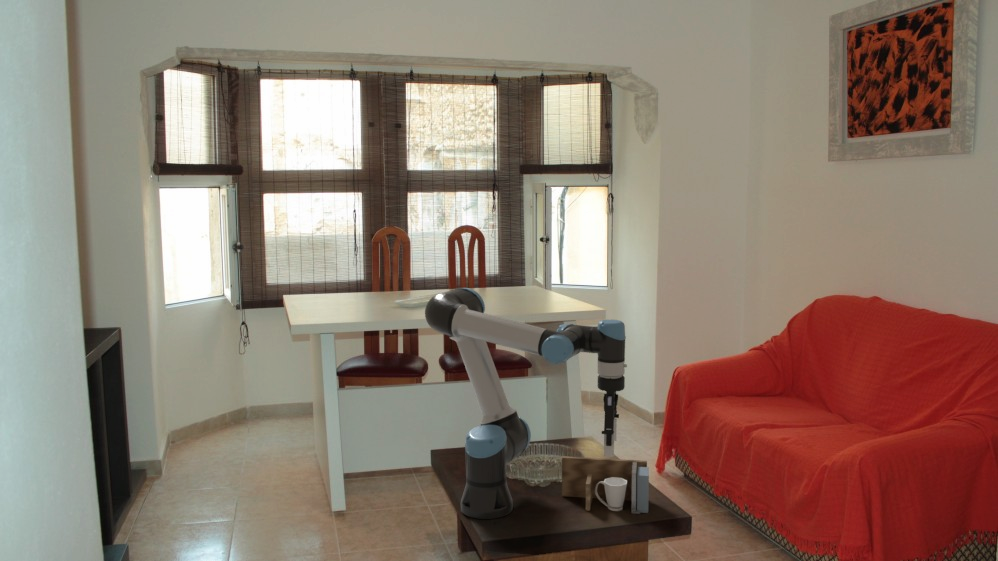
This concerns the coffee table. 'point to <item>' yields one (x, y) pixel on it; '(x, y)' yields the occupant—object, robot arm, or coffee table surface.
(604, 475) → the shelf wall
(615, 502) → the cup
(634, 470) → the bookend
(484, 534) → the coffee table surface
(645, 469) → the shelved book
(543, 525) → the coffee table surface
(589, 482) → the divider
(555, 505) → the coffee table surface
